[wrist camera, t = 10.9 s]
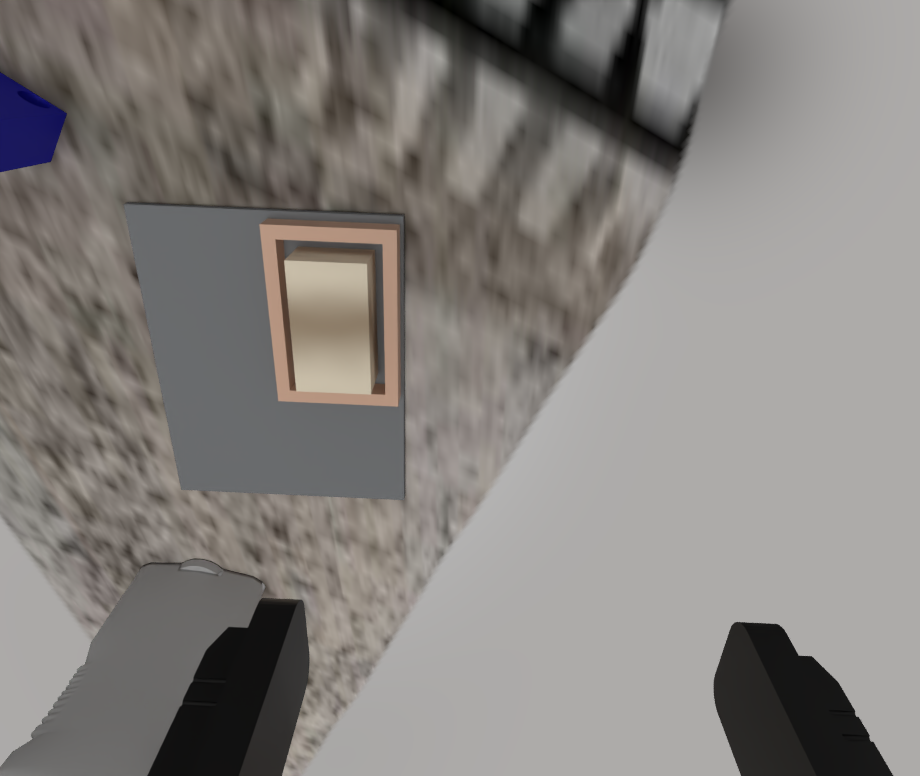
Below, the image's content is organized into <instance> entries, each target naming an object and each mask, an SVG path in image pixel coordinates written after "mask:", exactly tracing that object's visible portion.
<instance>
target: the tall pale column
mask: <svg viewBox="0 0 920 776" xmlns="http://www.w3.org/2000/svg"><path fill="white" fill-rule="evenodd" d="M264 589H265V586H264V584H263V582H261V581H260V580H258V579H257V578H255V577H253V576H249V575H245V574H241V573H237V572H232V571H228V570H224V569H223V570H222V569H221V568H220V567H219V566H218V565H216V564H214V563H212V562H210V561H206V560H202V559H193V560H189V561H186V562H184V563H183V564H179V563H149V564H146V565H144V566H142V568H141V569H140V571H139V572H138V574H137V575H136V577H135V578H134V580H133V581H132V583H131V584H130V586H129V587H128V589H127V590H126V592H125V593H124V595H123V596H122V597H121V599H120V600H119V602H118V603H117V605H116V606H115V608H114V609H113V611H112V612H111V614H110V615H109V617H108V618H107V620H106V621H105V623H104V624H103V626H102V627H101V629H100V630H99V632H98V633H97V635H96V636H95V638H94V639H93V640H92V642H91V645H90V649H89V652H88V656H87V659H86V662H85V665H83V666H81V667H79V668H78V669H77V673H76V674H74V676H73V678H72V679H71V680H70V681H69V684H70V685H68V686H67V687H66V690H65V691H63V692H62V695H61V696H59V697H58V701H57V702H55V703H54V704H53V707H54V708H53V709H51V710H50V711H49V712H48V716H46V717H44V718H43V719H42V723H43V724H41V725H39V726H38V727H36V729H35V730H34V731H33V732H32V734H31V737H32V738H33V739H32V740H30V741H29V742H27V743H26V744H24V745H23V746H21V747H19V748H18V749H16V750H15V751H13V752H12V753H11V754H10V756H9V757H8V758H7V759H6V761H5V762H4V763H3V764H2V765H1V767H0V776H147V775H148V773H149V771H150V769H151V766H152V764H153V762H154V760H155V758H156V756H157V754H158V752H159V749H160V747H161V745H162V743H163V741H164V739H165V737H166V734H167V732H168V730H169V728H170V726H171V724H172V722H173V720H174V717H175V715H176V713H177V711H178V709H179V707H180V706H182V703H183V698H184V696H185V694H186V692H187V690H188V688H189V685H190V683H192V682H193V677H194V675H195V673H196V670H197V668H198V666H199V664H200V662H201V660H202V658H203V655H204V653H205V651H206V649H207V648H208V647H209V646H210V645H211V644H212V643H213V642H214V641H215V640H216V639H217V638H218V637H219V636H220V635H221V634H222V633H223V632H224V631H225V630H226V629H227V628H228V627H244V628H248V626H249V623H250V621H251V619H252V616H253V614H254V611H255V609H256V607H257V604H258V603H259V600H260V598H261V596H262V593H263V591H264Z"/></svg>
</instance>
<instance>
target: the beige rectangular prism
mask: <svg viewBox="0 0 920 776" xmlns="http://www.w3.org/2000/svg"><path fill="white" fill-rule="evenodd" d="M284 265H285V276H286V287H287V297H288V308H289V318H290V329H291V340H292V350H293V361H294V372H295V382H296V391H300V392H322V393H345V394H368V395H371V394H372V391H373V388H374V384H375V381H376V378H377V375H378V344H377V305H376V267H375V250H370V249H347V248H323V247H300V246H298V247H297V248H296V249H295V250H294V251H293V252H292V253H291V254H290V255H289V256H288V257H287V258H286V259H285V260H284Z"/></svg>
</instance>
